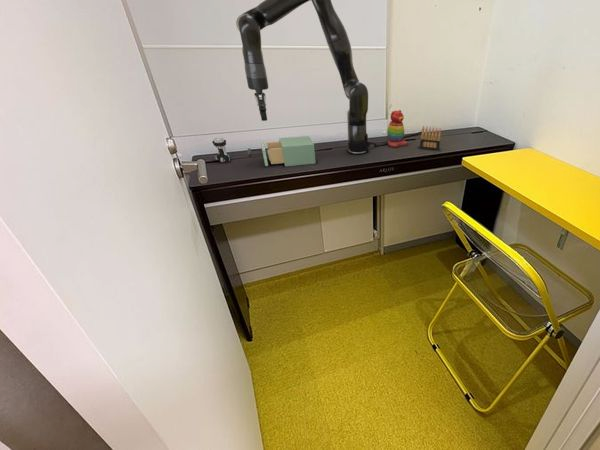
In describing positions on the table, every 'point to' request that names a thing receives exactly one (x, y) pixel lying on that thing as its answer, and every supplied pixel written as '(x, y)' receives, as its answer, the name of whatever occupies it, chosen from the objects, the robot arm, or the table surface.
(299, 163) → the cabinet
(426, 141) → the ammunition clip
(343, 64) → the robot arm
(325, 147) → the table surface
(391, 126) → the stacking bear
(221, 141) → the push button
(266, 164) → the drawer
